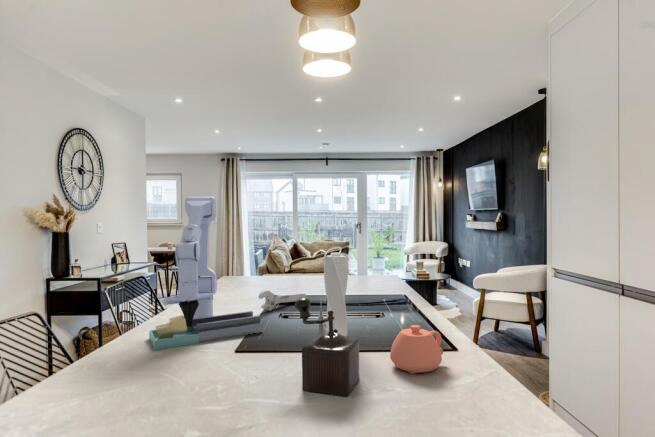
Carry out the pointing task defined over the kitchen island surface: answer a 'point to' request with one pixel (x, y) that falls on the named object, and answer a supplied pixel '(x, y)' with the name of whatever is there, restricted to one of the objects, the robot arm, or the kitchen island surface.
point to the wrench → (278, 299)
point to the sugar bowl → (416, 350)
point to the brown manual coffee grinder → (328, 358)
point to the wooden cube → (178, 324)
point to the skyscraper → (335, 291)
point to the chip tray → (173, 339)
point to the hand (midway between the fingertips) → (188, 325)
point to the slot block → (226, 326)
